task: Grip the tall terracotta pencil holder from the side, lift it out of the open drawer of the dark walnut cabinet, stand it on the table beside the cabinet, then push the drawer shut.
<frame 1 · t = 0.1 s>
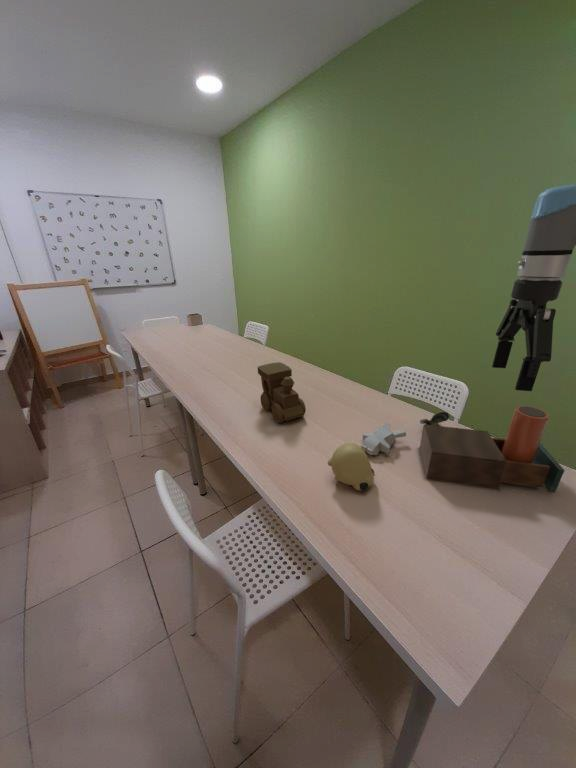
hand: (509, 377, 68), 28 cm above the table, tool pointing down, fingers open, 13 cm apart
wooden toy train: (281, 412, 114), on the table
eagle figurine: (432, 430, 101), on the table
cabinet: (454, 467, 83), on the table
drawer: (514, 461, 78), point 4 cm above the table, slide at 11.0 cm, touching pencil holder
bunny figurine: (381, 446, 93), on the table
tan rounded piece: (350, 480, 79), on the table
pencil holder: (512, 468, 79), point 2 cm above the table, touching drawer
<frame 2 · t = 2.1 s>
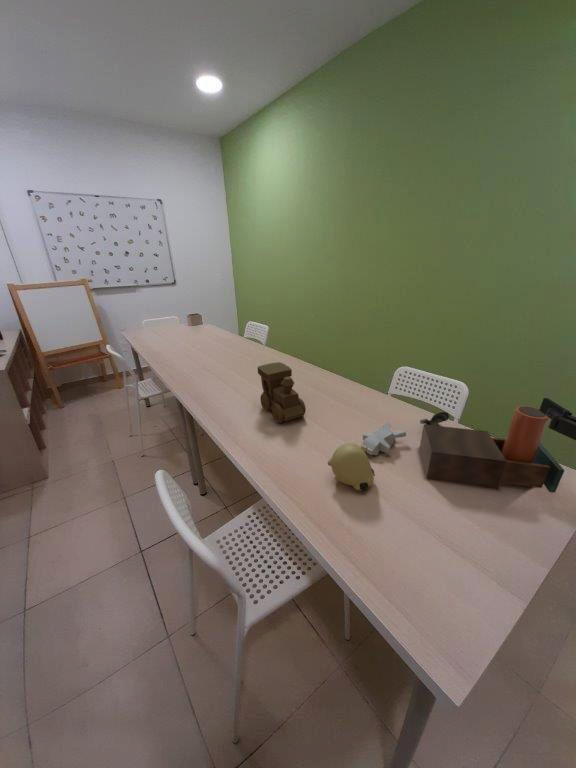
nothing on the table moved.
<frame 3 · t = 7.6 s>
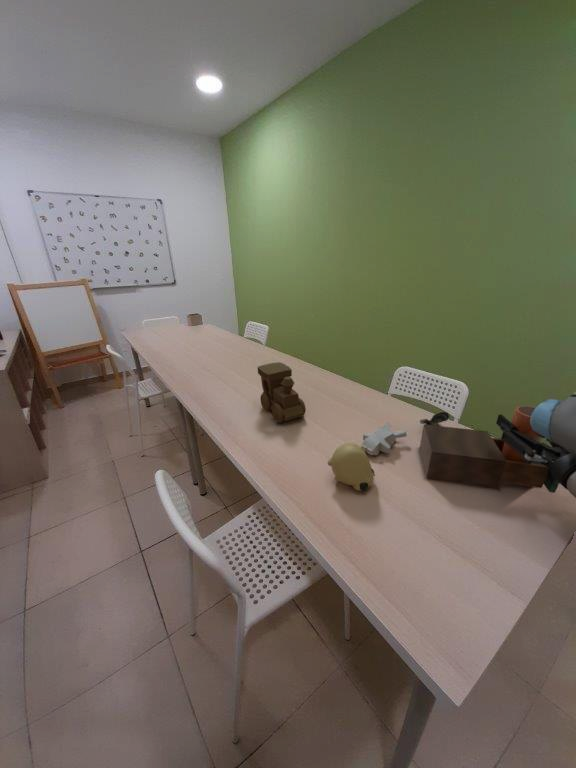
hand: (513, 419, 79), 14 cm above the table, tool horizontal, fingers closed on pencil holder, 7 cm apart
pencil holder: (512, 468, 79), point 2 cm above the table, touching drawer, gripper
everything else where it was.
when the fingers open (12 cm above the table, at t = 16.3 s): pencil holder stays where it is, on the table.
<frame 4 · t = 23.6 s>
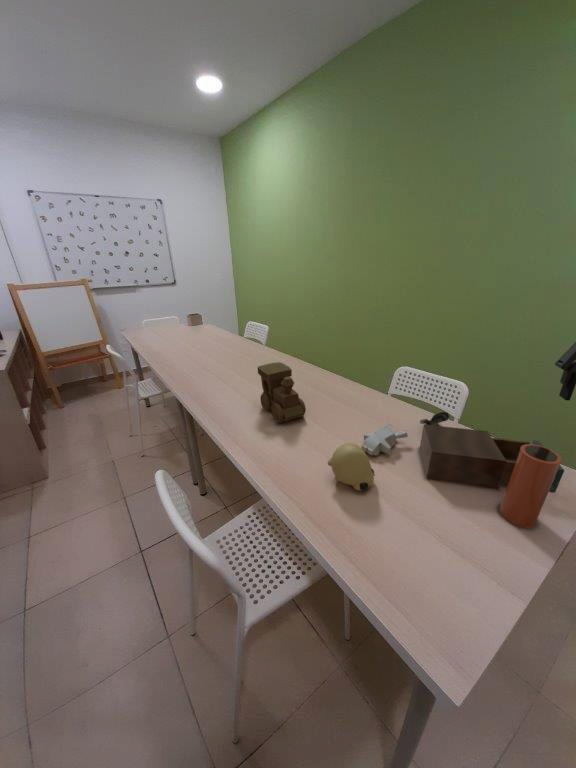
drawer: (514, 461, 78), point 4 cm above the table, slide at 11.0 cm
pencil holder: (516, 515, 67), on the table
everything else where it was.
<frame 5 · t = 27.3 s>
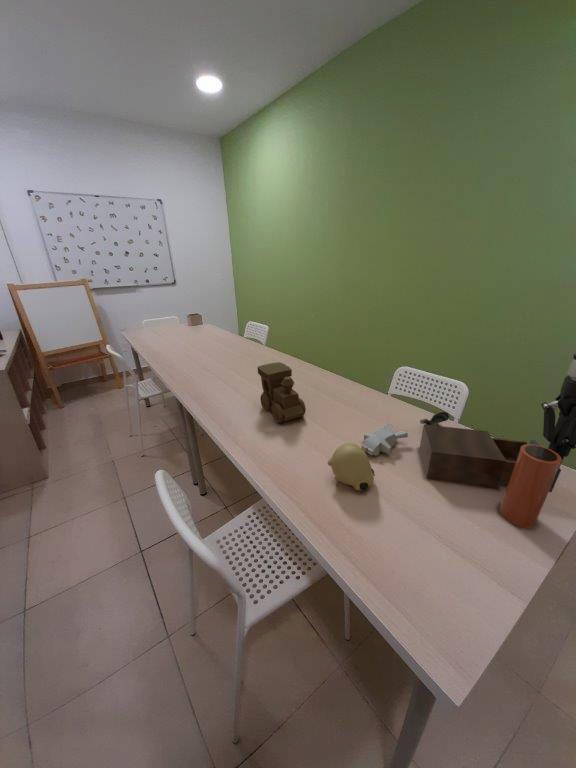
hand: (552, 465, 76), 5 cm above the table, tool pointing down, fingers closed
drawer: (511, 460, 78), point 4 cm above the table, slide at 10.3 cm, touching gripper
everything else where it was.
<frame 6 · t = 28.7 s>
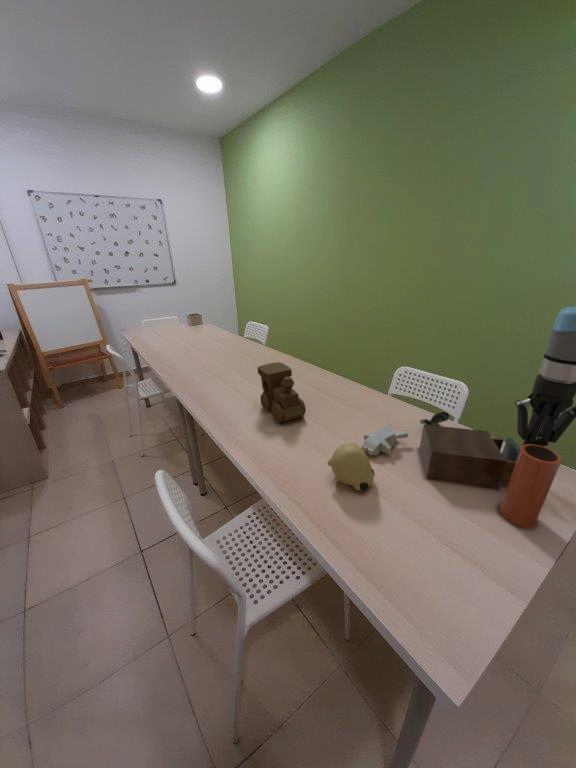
hand: (527, 462, 77), 5 cm above the table, tool pointing down, fingers closed
drawer: (487, 457, 80), point 4 cm above the table, slide at 4.8 cm, touching gripper
everything else where it was.
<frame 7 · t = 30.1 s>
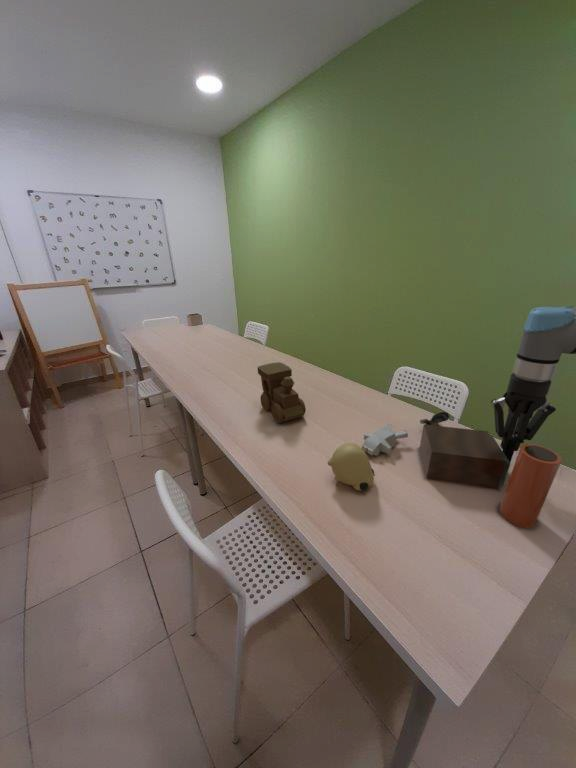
hand: (505, 459, 79), 4 cm above the table, tool pointing down, fingers closed
drawer: (467, 455, 81), point 4 cm above the table, slide at 0.0 cm, touching cabinet, gripper
everything else where it was.
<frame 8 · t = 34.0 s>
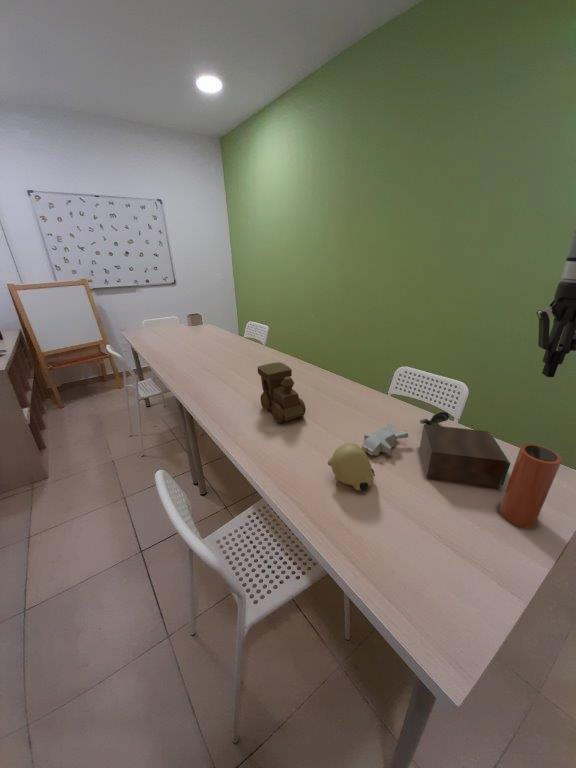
hand: (547, 375, 79), 24 cm above the table, tool pointing down, fingers closed
drawer: (467, 455, 81), point 4 cm above the table, slide at 0.0 cm, touching cabinet
everything else where it was.
at the end: pencil holder inside the target area (0.0 cm from its centre), on the table; pencil holder tilted 0°; drawer slide at 0.0 cm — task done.
